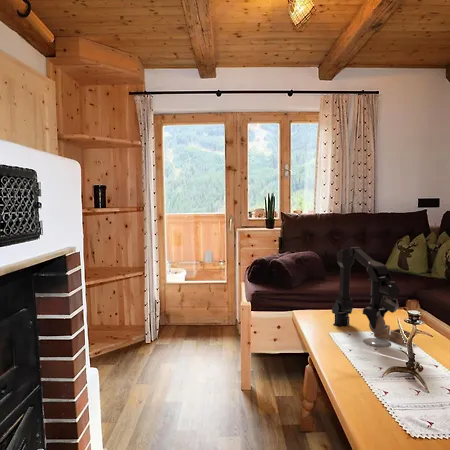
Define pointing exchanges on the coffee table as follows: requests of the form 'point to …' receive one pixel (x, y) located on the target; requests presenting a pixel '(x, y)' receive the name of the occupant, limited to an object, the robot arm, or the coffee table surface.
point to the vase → (378, 325)
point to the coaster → (377, 342)
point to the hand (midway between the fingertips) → (377, 326)
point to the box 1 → (385, 333)
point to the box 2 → (398, 336)
